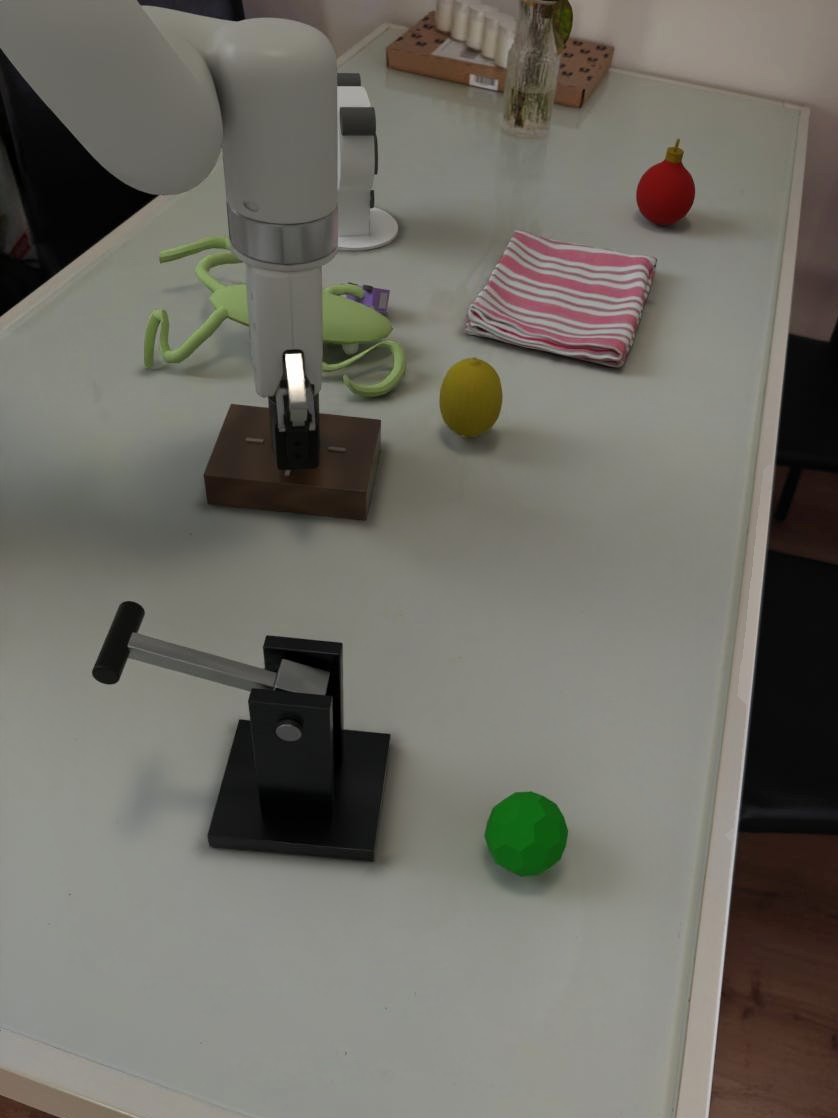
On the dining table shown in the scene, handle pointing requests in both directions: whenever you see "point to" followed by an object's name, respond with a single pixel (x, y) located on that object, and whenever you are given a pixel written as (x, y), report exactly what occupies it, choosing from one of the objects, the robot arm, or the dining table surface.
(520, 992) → the dining table surface
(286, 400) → the valve knob
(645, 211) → the christmas ornament
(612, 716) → the dining table surface
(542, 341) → the dish towel
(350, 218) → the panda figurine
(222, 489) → the panel
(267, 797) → the black lever base
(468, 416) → the lemon
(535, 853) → the polyhedron
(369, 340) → the figurine
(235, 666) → the tap lever
